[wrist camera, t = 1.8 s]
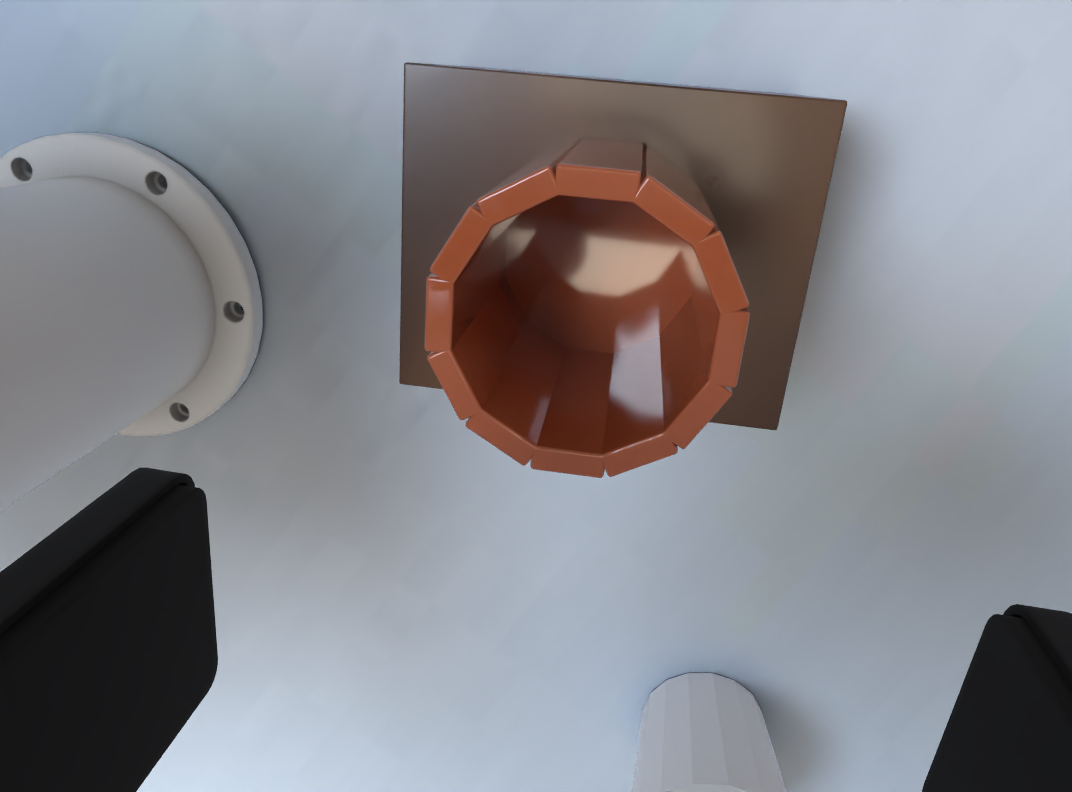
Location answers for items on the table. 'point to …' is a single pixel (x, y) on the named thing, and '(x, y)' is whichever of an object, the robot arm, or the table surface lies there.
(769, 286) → the shelf
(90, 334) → the robot arm
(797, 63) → the table surface
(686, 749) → the white short cylinder
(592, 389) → the cup
